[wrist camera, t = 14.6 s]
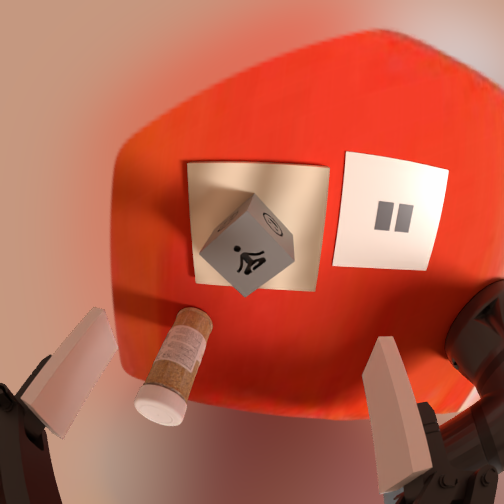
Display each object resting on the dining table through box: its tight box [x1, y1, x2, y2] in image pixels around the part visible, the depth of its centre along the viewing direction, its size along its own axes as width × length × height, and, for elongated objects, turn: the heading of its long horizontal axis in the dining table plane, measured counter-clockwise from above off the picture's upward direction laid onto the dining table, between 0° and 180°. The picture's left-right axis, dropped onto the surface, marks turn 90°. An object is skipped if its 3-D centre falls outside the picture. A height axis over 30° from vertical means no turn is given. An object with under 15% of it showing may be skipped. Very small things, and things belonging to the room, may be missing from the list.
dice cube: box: [199, 193, 295, 297], centre depth 22 cm, size 5×5×5 cm
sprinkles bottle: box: [134, 307, 213, 426], centre depth 25 cm, size 5×5×14 cm
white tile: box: [332, 151, 449, 271], centre depth 23 cm, size 11×11×1 cm
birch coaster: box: [187, 161, 330, 292], centre depth 25 cm, size 12×12×1 cm
